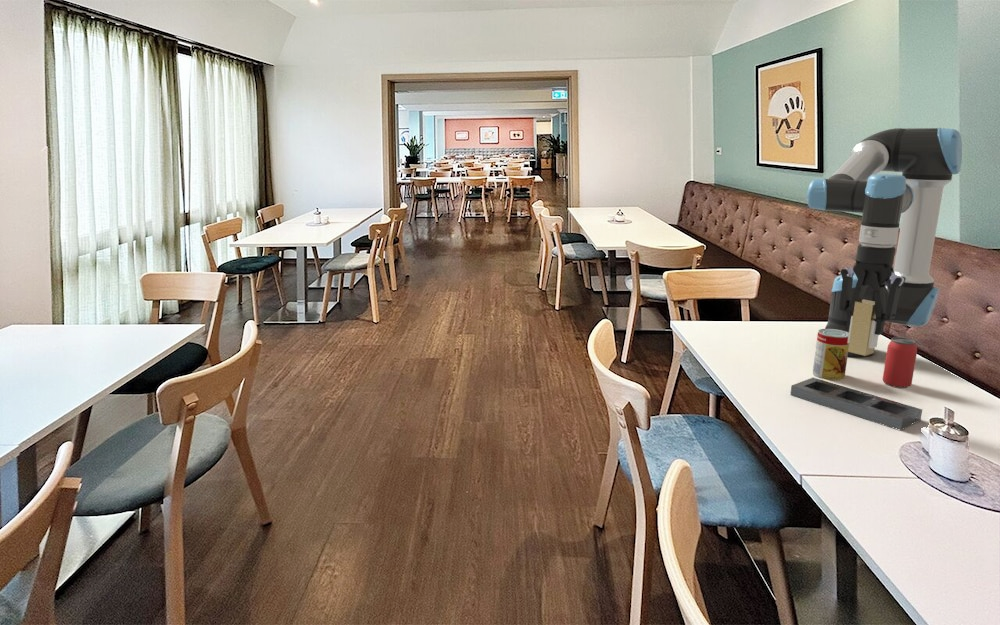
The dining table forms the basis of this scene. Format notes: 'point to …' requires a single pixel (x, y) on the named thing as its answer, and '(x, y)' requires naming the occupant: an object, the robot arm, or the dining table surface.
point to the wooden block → (862, 327)
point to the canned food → (831, 354)
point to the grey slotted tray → (857, 403)
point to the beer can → (900, 362)
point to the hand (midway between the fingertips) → (861, 344)
